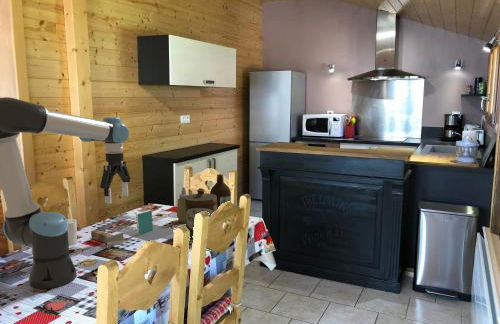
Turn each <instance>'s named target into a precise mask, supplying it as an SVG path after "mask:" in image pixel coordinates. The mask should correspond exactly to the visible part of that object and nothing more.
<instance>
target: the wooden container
mask: <svg viewBox="0 0 500 324" xmlns="http://www.w3.org/2000/svg"><path fill="white" fill-rule="evenodd" d="M188 195H189V196H186V197H185V203H186V223H185V225H186V226H185V227H187V228H188V229H189V230H190V237H191V238H190V239H192V236H193V227H194V217H195V214H197V213H199V212H201V211H207V212H209V213H210V215H211V214H212V213H213V212H214V211H216V210H217V196H216V195H214V194H210V193H206V191H205V189H204V188H198V189H197V190H196V193H193V194H188Z"/></svg>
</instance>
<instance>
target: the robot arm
mask: <svg viewBox="0 0 500 324" xmlns="http://www.w3.org/2000/svg"><path fill="white" fill-rule="evenodd" d="M43 132H45V133H51V134H58V135H64V136H71V137H75V138H76V137H77V138H78V139H80V141H81V142H83V143H84V142H85V143H87V142H89V143H91V142H100V143H101V142H103V143H104V152H105V162H107V165H103V171H102V175H101V176H102V177H101V181H100V185H99V187H100V189H101V190H102V189H103V195H104V203H105V204H112V189H111V188H110V187H111V184H112V182H113V179H114V176H116V175H118V176H119V178H120V180H121V183H120V184H121V196H122V197H129V187H128V186H129V184H128V183H130V182H131V176H130V173H129V170H128V167H127V163H126V160H125V159H124V158H125V157H124V145H123V143H124V142H126V141H127V140H128V139H129V136H130V130H129V127H127V125H126V124H124V123H122V119H121V117H119V116H105V117H103V119H102V120H100V119H95V118H94V119H93V118H91V117H84V116H80V115H76V114H75V115H74V114H70V113H65V112H60V111H54V110H52V109H51V110H50V109H47V108H46V107H45V106H44V105H42V104H41V105H40V104H36V103H32V102H29V101H25V100H22V99H18V98H14V97H10V96H8V97H4V96H2V97H0V188H1V192H2V194H3V198H4V202H5V205H6V210H5V212H4V214H3V216H4V222H3V224H2V232H3V234H4V236H5V237H6V238H7V239H8V240H9V241H11V242H12V243H14V244H17V245H20V246H24V247H27V248H31V252H32V264H31V269H30V273H29V277H28V281H29V282H28V283H29V286H30V287H32V288H35V289H41V290H42V289H53V288H54V289H55V288H57V287H62V286H64V285H67V284H69V283H71V282H73V281H74V280H75V279H76V278H77V270H76V267H75V264H74V262H73V260H72V258H71V256H70V245H69V243H68V230H67V229H68V225H67V221H66V219H67V218H66V216H65V215H64V214H62V213H60V212H55V211H53V212H52V211H43V212H42V209H41V206H40V204H38V203H36V202H35V201H34V199H33V194H32V191H31V187H30V184H29V180H28V177H27V173H26V169H25V166H24V163H23V159H22V154H21V152H20V148H19V144H18V141H17V139H18V138H19V135H20V134H21V133H24V134H26V133H29V134H35V135H36V134H41V133H43Z"/></svg>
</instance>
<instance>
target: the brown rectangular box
mask: <svg viewBox="0 0 500 324" xmlns="http://www.w3.org/2000/svg"><path fill="white" fill-rule="evenodd" d="M123 233H124V232H123V231H122V232H119V233H116V234H112V233H108V232H105V231H101V230H97V229H94V230H91V231H90V234H91V236H90V237H91V238H90V239H91V240H93V241H95V242H99V243H101V244H105V245H106V249H107V250H108V249H112V248H114V247H115V246H116V245H119V244H122V243H124V242H125V241H124V240H125V239H124V238H125V237H124V234H123Z"/></svg>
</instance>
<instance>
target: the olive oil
mask: <svg viewBox="0 0 500 324" xmlns="http://www.w3.org/2000/svg"><path fill="white" fill-rule="evenodd" d="M209 194H214V195H216V196H217V209H218V207H219V206H220V205H221V204H222V203H225V202H227V201H230V202H231V203H232V192H231V189H230V186H228V184H226V183H225V181H224V174H222V173H219V174H216V183H214V185H213V186H212V187H211V189H210V191H209Z"/></svg>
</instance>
